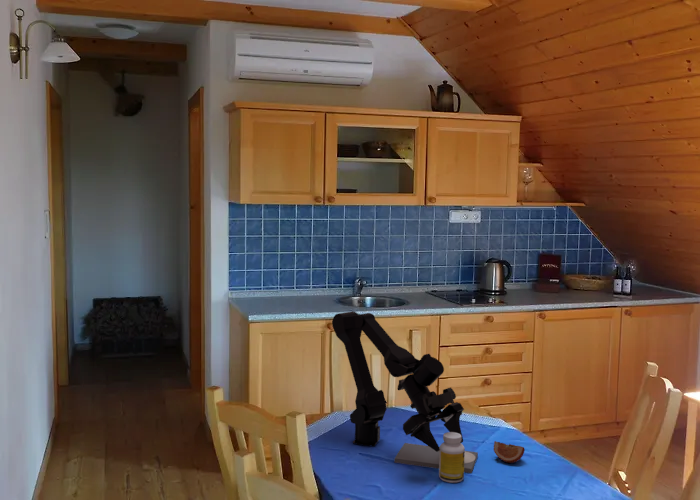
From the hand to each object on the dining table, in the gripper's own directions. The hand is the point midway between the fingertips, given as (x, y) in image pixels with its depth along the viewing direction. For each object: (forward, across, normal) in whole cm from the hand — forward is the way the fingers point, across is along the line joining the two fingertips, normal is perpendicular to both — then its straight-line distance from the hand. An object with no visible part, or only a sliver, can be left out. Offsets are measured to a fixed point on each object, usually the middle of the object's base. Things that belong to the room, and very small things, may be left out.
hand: (450, 446), depth 187 cm
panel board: (-1, +6, +13) cm, 15 cm away
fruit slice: (+8, +21, +4) cm, 23 cm away
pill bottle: (+6, 0, +6) cm, 9 cm away
